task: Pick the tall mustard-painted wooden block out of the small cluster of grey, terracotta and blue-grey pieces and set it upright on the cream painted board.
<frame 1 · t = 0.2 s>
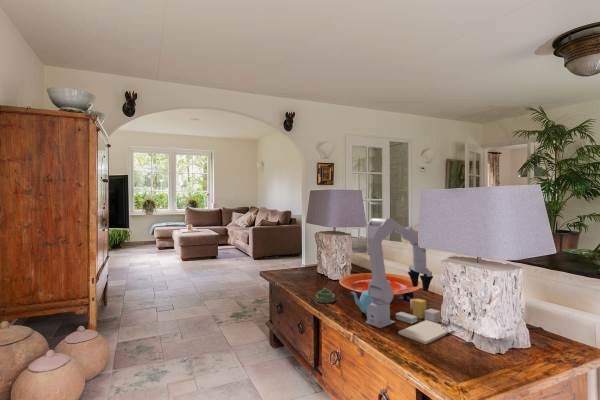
hand: (420, 288, 158), 10 cm above the sideboard, tool pointing down, fingers open, 7 cm apart
teapot: (370, 313, 156), on the sideboard
mustard block: (419, 316, 150), on the sideboard
decorative artifact: (325, 300, 178), on the sideboard
cream board: (426, 332, 132), on the sideboard
grey cube: (432, 321, 143), on the sideboard
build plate: (408, 300, 173), on the sideboard
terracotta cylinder: (416, 308, 159), on the sideboard
blue-grey slab: (406, 320, 146), on the sideboard
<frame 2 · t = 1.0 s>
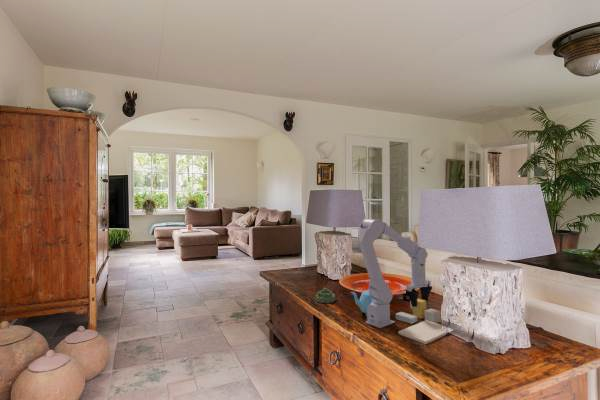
hand: (419, 304, 150), 5 cm above the sideboard, tool pointing down, fingers open, 7 cm apart
nothing on the sideboard moved.
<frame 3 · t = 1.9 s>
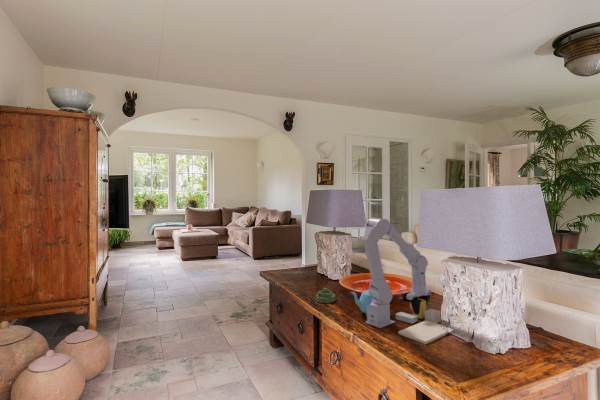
hand: (419, 312, 150), 2 cm above the sideboard, tool pointing down, fingers closed on mustard block, 4 cm apart
mustard block: (419, 316, 150), on the sideboard, touching gripper
everything else where it was.
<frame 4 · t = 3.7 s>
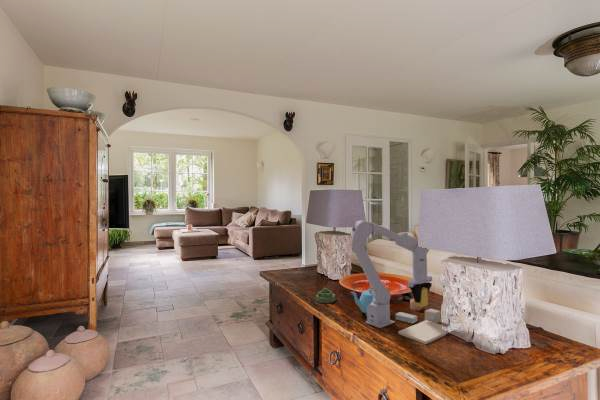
hand: (420, 300, 144), 8 cm above the sideboard, tool pointing down, fingers closed on mustard block, 4 cm apart
mustard block: (421, 304, 144), point 7 cm above the sideboard, touching gripper
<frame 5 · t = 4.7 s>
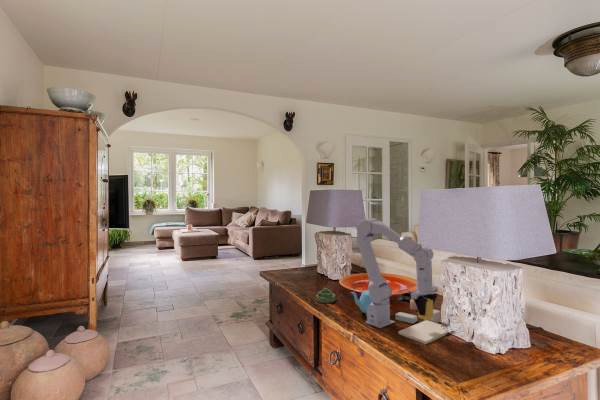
hand: (425, 313, 132), 7 cm above the sideboard, tool pointing down, fingers closed on mustard block, 4 cm apart
mustard block: (425, 317, 132), point 6 cm above the sideboard, touching gripper
when the fingers open (4 cm above the sideboard, at t = 5.6 s): mustard block drops 1 cm, resting on cream board.
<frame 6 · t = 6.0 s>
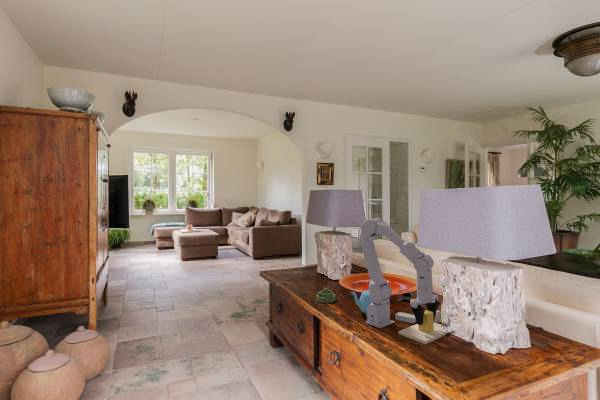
hand: (425, 322, 132), 4 cm above the sideboard, tool pointing down, fingers open, 7 cm apart
mustard block: (426, 330, 132), point 1 cm above the sideboard, touching cream board
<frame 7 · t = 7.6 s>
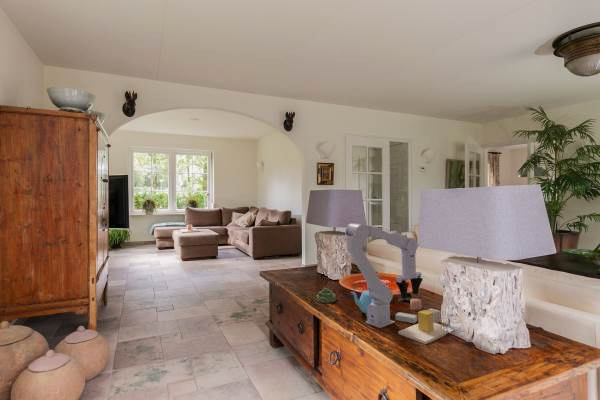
hand: (409, 295, 149), 9 cm above the sideboard, tool pointing down, fingers open, 7 cm apart
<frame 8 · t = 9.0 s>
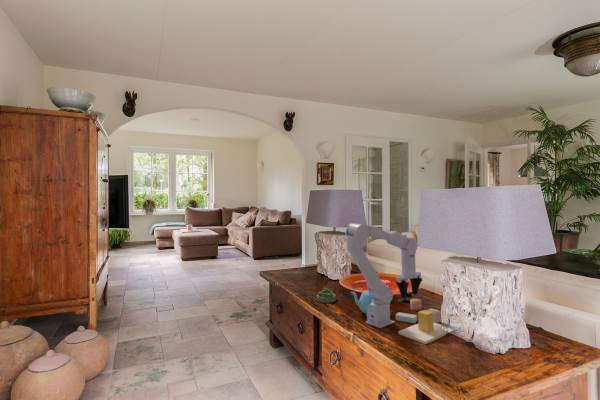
hand: (409, 295, 149), 9 cm above the sideboard, tool pointing down, fingers open, 7 cm apart
at the end: mustard block inside the target area on the cream board (0.1 cm from its centre), point 1.0 cm above the cream board's base; mustard block tilted 0°; the gripper is holding nothing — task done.
